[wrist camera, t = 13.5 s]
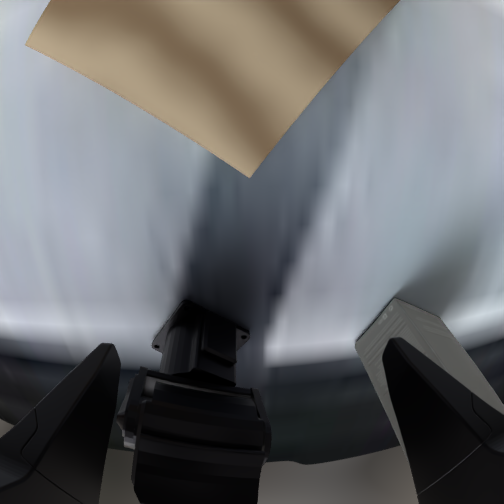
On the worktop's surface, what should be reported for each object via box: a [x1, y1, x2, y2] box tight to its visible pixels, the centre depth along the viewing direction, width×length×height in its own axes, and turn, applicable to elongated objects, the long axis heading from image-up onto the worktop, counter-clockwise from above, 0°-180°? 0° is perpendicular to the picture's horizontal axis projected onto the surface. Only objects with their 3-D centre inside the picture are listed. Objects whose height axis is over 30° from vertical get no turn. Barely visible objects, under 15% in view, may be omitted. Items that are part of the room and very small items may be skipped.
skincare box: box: [355, 298, 504, 465], centre depth 21 cm, size 8×7×16 cm
